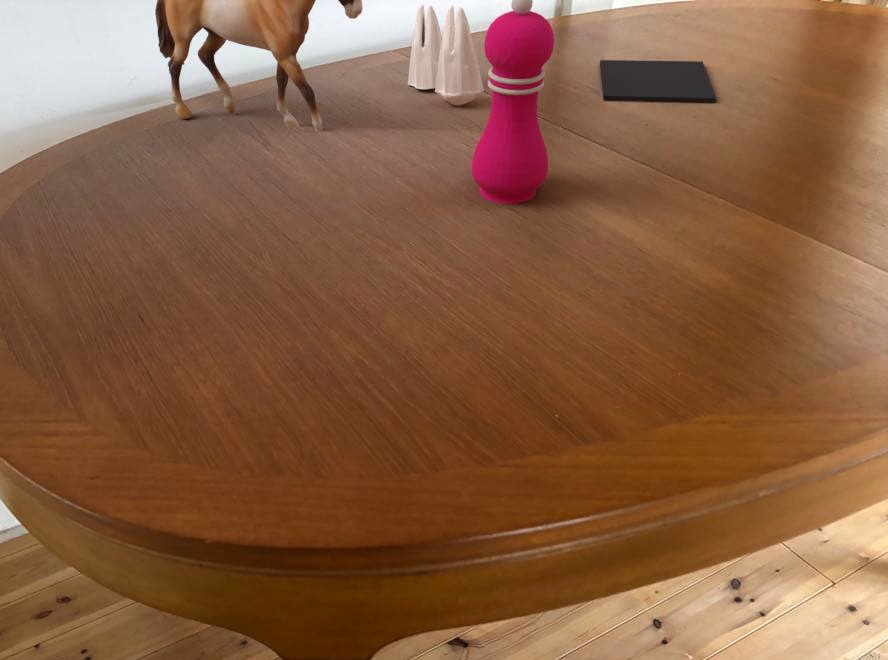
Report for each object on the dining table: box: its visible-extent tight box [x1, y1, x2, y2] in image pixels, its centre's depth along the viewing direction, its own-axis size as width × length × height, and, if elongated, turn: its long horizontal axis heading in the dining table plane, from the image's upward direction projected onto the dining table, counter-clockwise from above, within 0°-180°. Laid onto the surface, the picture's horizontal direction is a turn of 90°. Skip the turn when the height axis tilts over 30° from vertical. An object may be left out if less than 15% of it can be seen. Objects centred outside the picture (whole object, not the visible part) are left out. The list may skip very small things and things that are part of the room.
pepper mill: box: [470, 0, 555, 205], centre depth 81 cm, size 7×7×20 cm
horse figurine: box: [154, 0, 363, 132], centre depth 101 cm, size 31×8×21 cm, turn 56°
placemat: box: [599, 59, 717, 104], centre depth 112 cm, size 13×13×1 cm
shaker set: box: [407, 3, 485, 106], centre depth 108 cm, size 12×4×11 cm, turn 28°
